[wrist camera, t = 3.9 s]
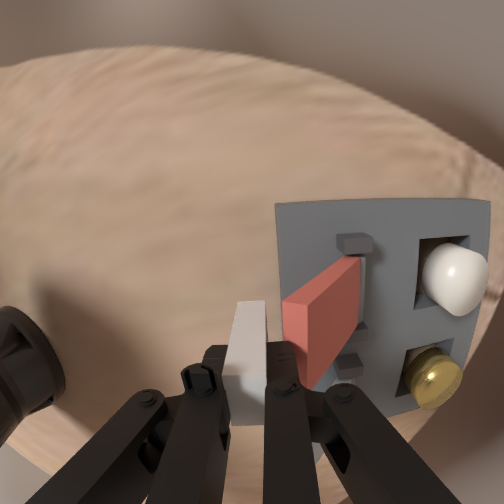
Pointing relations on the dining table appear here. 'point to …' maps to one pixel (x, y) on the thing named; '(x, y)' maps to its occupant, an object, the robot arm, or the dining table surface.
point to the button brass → (432, 378)
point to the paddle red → (324, 316)
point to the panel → (383, 281)
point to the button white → (455, 278)
